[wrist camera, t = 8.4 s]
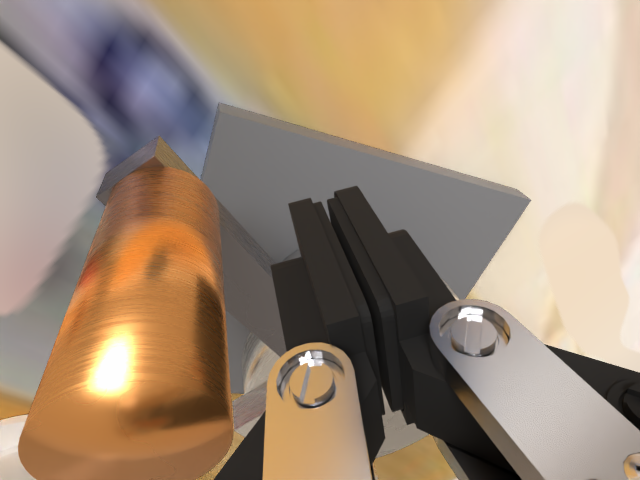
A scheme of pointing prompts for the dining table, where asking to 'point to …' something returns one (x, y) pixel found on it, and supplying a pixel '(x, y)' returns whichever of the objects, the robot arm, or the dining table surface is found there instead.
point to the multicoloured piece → (160, 337)
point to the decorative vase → (12, 449)
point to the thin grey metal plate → (343, 172)
